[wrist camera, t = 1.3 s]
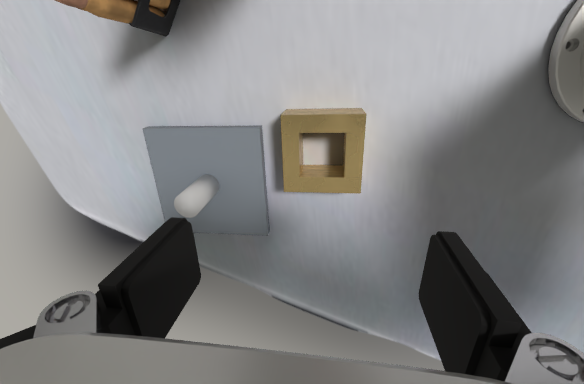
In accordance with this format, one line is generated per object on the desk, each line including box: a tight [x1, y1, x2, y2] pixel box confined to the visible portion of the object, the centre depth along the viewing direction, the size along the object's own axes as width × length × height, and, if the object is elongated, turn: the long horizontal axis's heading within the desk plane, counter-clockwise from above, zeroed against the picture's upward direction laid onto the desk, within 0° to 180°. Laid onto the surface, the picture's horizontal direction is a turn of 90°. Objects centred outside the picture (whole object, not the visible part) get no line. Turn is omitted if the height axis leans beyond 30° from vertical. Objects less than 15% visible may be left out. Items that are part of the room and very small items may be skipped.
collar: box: [281, 108, 366, 193], centre depth 26 cm, size 7×7×4 cm
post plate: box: [143, 126, 269, 236], centre depth 28 cm, size 12×12×6 cm
